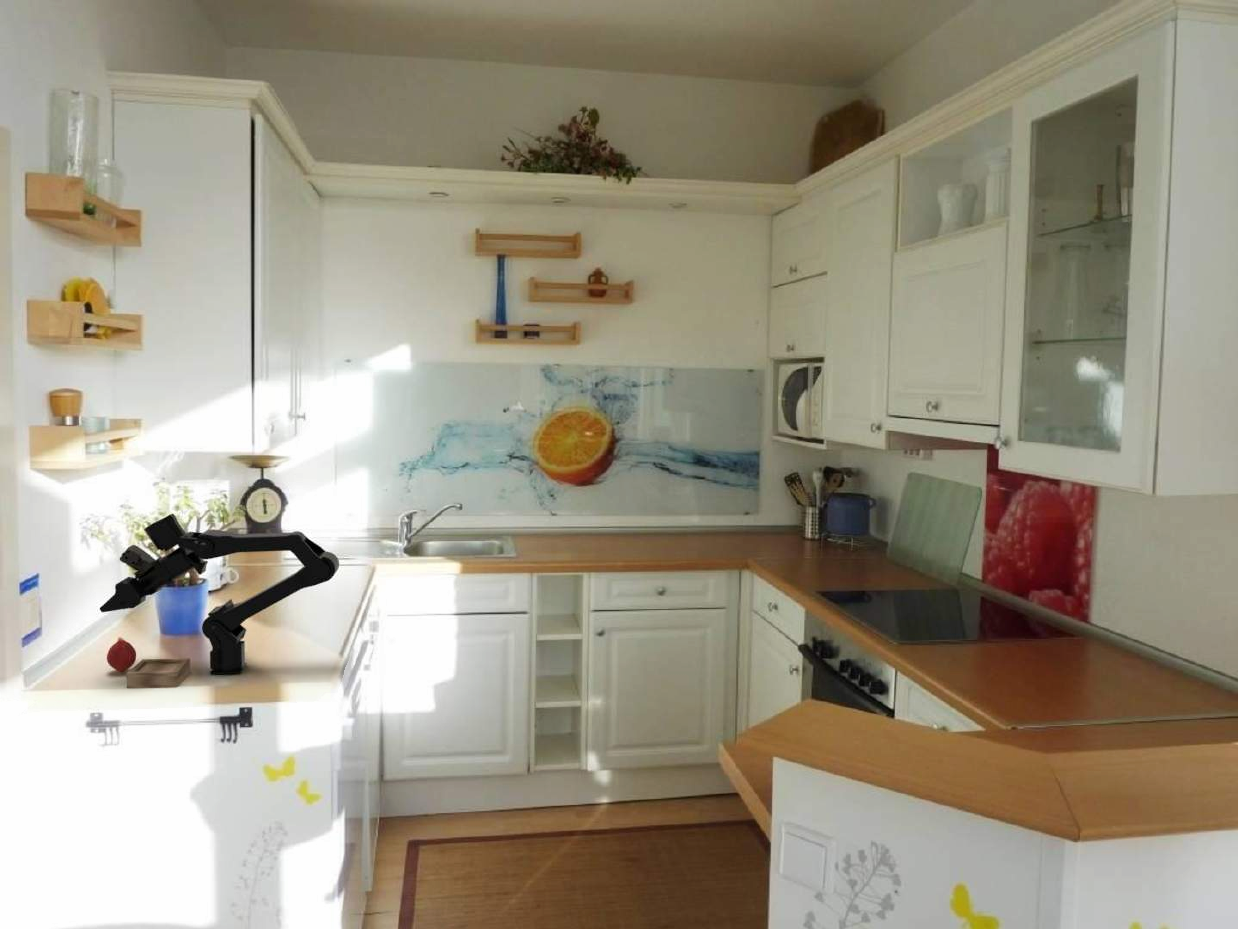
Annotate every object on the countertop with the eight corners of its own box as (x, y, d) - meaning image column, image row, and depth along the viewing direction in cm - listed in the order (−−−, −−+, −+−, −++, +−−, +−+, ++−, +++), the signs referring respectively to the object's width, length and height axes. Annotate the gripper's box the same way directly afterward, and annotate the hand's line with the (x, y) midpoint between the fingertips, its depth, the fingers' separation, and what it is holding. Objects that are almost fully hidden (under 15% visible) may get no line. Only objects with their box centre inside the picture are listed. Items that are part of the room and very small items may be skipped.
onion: (141, 668, 221) (140, 634, 220) (129, 676, 215) (128, 641, 214) (115, 668, 221) (113, 633, 220) (102, 676, 215) (101, 640, 214)
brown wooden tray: (190, 672, 219) (190, 658, 219) (176, 687, 209) (176, 672, 209) (143, 673, 217) (142, 659, 217) (126, 688, 208) (126, 673, 207)
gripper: (163, 530, 225) (103, 566, 224) (134, 544, 207) (69, 584, 206) (191, 570, 227) (132, 606, 226) (165, 588, 208) (100, 628, 207)
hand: (108, 605), depth 216 cm, fingers open, 9 cm apart
